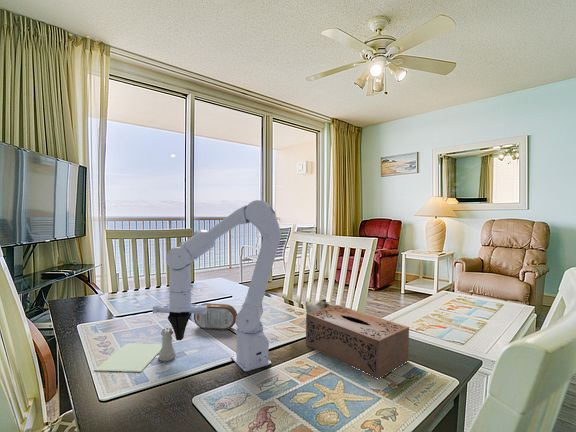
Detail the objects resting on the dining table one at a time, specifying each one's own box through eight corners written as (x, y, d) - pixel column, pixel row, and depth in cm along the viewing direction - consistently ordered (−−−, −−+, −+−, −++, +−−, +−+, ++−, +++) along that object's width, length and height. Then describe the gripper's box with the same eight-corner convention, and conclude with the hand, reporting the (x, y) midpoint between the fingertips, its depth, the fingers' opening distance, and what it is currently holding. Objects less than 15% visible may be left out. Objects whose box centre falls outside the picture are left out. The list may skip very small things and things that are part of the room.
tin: (237, 327, 112) (237, 304, 112) (235, 331, 109) (235, 306, 109) (195, 325, 114) (196, 302, 113) (192, 329, 110) (192, 304, 110)
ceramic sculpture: (307, 293, 125) (346, 297, 123) (305, 315, 126) (344, 319, 123) (304, 301, 115) (346, 306, 113) (302, 325, 115) (344, 330, 113)
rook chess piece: (170, 352, 92) (170, 325, 92) (178, 357, 90) (178, 329, 89) (155, 358, 89) (155, 329, 89) (163, 363, 86) (163, 334, 86)
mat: (166, 345, 97) (166, 344, 97) (141, 372, 81) (141, 371, 81) (127, 344, 98) (127, 343, 98) (94, 371, 82) (94, 370, 82)
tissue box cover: (305, 345, 99) (306, 313, 98) (336, 334, 108) (337, 304, 108) (378, 381, 79) (379, 341, 79) (408, 362, 89) (409, 327, 88)
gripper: (210, 287, 92) (209, 333, 93) (160, 286, 93) (160, 332, 93) (203, 293, 85) (202, 344, 86) (149, 292, 86) (149, 342, 86)
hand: (179, 338), depth 89 cm, fingers closed
